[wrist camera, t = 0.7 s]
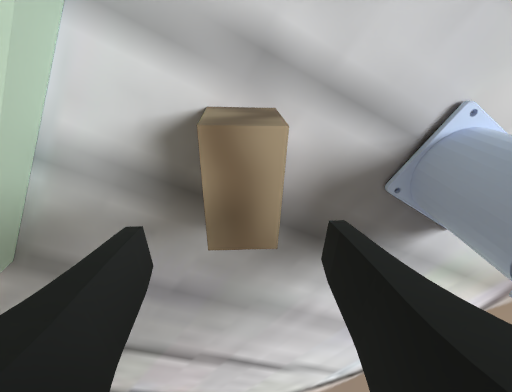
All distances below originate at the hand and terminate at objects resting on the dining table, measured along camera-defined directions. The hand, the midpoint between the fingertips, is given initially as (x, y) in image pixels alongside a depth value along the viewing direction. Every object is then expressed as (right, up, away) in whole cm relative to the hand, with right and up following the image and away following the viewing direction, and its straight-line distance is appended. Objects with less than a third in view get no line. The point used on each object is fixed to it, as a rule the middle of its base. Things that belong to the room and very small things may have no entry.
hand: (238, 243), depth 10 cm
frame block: (0, +4, +9) cm, 10 cm away
